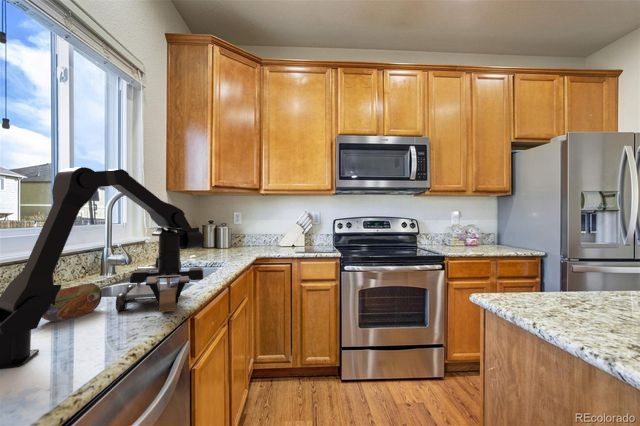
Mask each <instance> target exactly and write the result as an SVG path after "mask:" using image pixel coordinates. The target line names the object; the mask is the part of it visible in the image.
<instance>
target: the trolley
mask: <svg viewBox="0 0 640 426" xmlns="http://www.w3.org/2000/svg"><path fill="white" fill-rule="evenodd" d="M136 270H150V271H158V269H157V268H156V267H155V266H139V267H137V268H136ZM171 279H172V278H166V283H160V291H161V290H162V288H177V287H178V282H179V281H176V282H175V281H173V282H171ZM148 302H157V300H156V297H155V295H154V293H153V291H152V289H151V288H150V286H146V284H142V283H132V284H127V286H126V291H125V292H119V293H117V295H116V299H115V310H116V311H117V312H120V311H126V310H127V308H128V304H134V303H136V304H137V303H148Z"/></svg>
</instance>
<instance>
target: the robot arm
mask: <svg viewBox="0 0 640 426" xmlns="http://www.w3.org/2000/svg"><path fill="white" fill-rule="evenodd" d="M52 185H53V186H52V190H51V192H52V195H51V196H52V206H51V208H50V210H49V212H48V215H47V217H46V219H45V221H44V224H43V226H42V228H41V230H40V232H39V235H38V237H37V239H36V242H35V244H34V246H33V247H32V250H31V253H30V255H29V257H28V259H27V262H26V264H25V265H24V268H22V270H21V272H20V273H19V274H17V275H16V276H15V277H14V278H12V280H11V281H10V282H9V283H8V285H7V286H6V288H5V290H4V291H3V292H2V294H1V295H0V369H5V368H14V367H20V366H23V365H25V363H27V362H28V361H30V360H31V359H32V358H33V357H34V356H35V355H37V354H38V353H39V352H40V350H39V348H37V349H31V348H32V347H31V346H32V345H31V344H32V342H31V340H32V330H35V329H37V328H38V326H39V324H40V323H41V320H42V319H43V318H42V315H44V314H45V313H46V312H47V311H48V310H49V308H50V306H51V305H55V299H56V296H57V294H58V292H59V291H60V289H61V288H62V284H61V283H60V284H59V283H55V281H54V280H55V279H54V272H55V270H56V269H57V265H58V263H59V260H60V258H61V256H62V254H63V251H64V249H65V247H66V244H67V241H68V239H69V236H70V235H71V232H72V229H73V227H74V225H75V222H76V220H77V217H78V215H79V213H80V211H81V209H82V208H83V207H84V206H85V205H86V204H87V203H88V202H90V201H91V199H92V198H93V197H94V196H95V194H96V192H97V191H98V189H99V188H104V187H105V188H106V187H113V188H115V190H117V191H118V192H120V193H121V194H122V195H124V196H125V197H126V198H128V199H129V200H131V201H132V202H133V203H135V204H136V205H137V206H139V207H141V208H142V209H143V210H145V211H146V212H147V213H148V215H149V216H150V218H151V220H152V221H153V223H155V224H156V225H157V226H158V227H157V229H156V230H155V231H153V232H152V233H151V236H153V237H158V257H155V266H154V267H156V268H157V269H158V270H157V272H156V271H154V272H153V271H151V270H137V269H136V270H134V271H133V272H132V273H131V274H130V277H129V283H130V284H137V283H141V284H142V283H144V282H145V285H146V286H150V288H151V289H152V291H153V293H154V295H155V297H154V298H156V300H157V301H156V303H157V304H158V305H159V302H160V284H161V279H167V278H171V279H178V281H177V282H178V287H177V294H176V304H177V305H178V303H179V300H180V297H181V294H182V291H183V289H184V287H185V285H186V284H190V281H201V280H204V268H203V267H189V269H188V270H182V261H181V250H183V251H184V250H194V249H200V248H201V247H202V246H203V245H204V241H205V238H204V235H203V233H202V232H201V231H200V227H198V226H195V227H193V226H191V225H190V223H189V221H188V219H187V218H186V216H185V214H186V213H185V212H184V210H182V209H181V208H179V207H177V206H176V205H174V204H171V203H168V202H165V201H163V200H161V199H160V198H159V197H158V196H156V195H155V193H153V192H152V191H150V190H149V189H148V188H146V187H145V186H144V185H142V183H140V182H139V181H137V180H136V179H135V178H134V177H132V176H131V175H130V174H129V172H128V171H127V170H124V169H122V168H114V169H107V170H96V171H95V170H93V169H92V168H89V167H83V166H82V167H72V168H71V167H69V168H64V169H62V170H59V171H58V172H57V173H56V175H55V177H54V180H53V184H52Z"/></svg>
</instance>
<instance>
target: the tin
mask: <svg viewBox="0 0 640 426" xmlns="http://www.w3.org/2000/svg"><path fill="white" fill-rule="evenodd" d="M101 301H102V290H101V288H100V286H98V285H97V284H95V283H91V282H89V283H82V284H81V283H79V284H77V285H72V286H67V287H66V286H65V287H61V289H60V291H59V292H58V294H57V296H56V299H55V305H51V306H50V308H49V310H48V311H47V312H46V313H45V314H44V315H42V318H41V319H44V320H45V321H47V322H48V321H49V322H55V323H56V322H57V323H59V322H63V321H66V320H69V319H73V318H76V317H79V316H83V315H86V314H89V313H91V312H93V311H94V310H96V309H97V308H98V307H99V305H100V304H101Z"/></svg>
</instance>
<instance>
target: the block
mask: <svg viewBox="0 0 640 426" xmlns="http://www.w3.org/2000/svg"><path fill="white" fill-rule="evenodd" d="M176 294H177V288H162V290H161V291H160V302H159V304H158V306H159V309H158V310H159V311H158V312H159V313H164V312H175V311H176V308H177V305H178V303H177V304H176Z"/></svg>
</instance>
